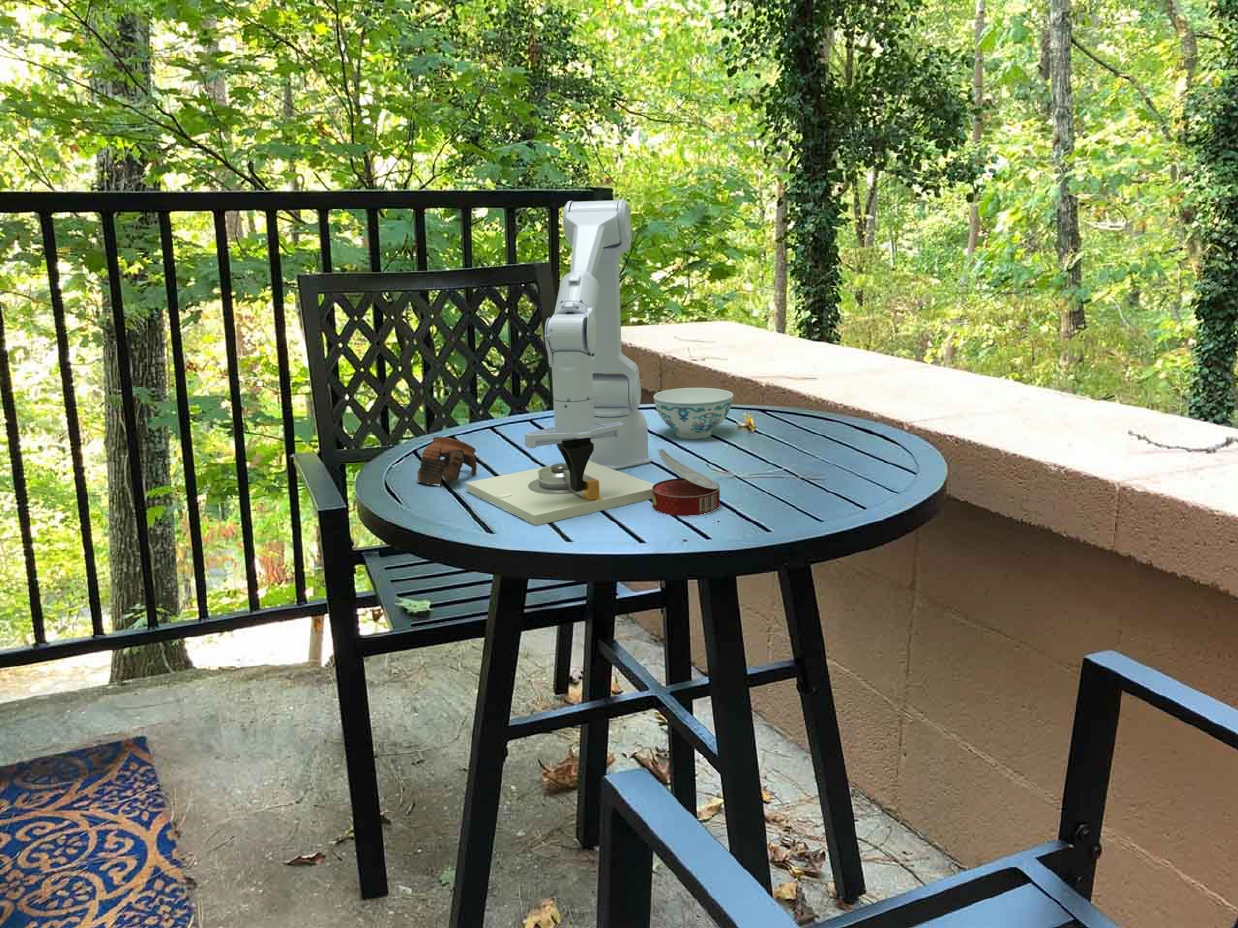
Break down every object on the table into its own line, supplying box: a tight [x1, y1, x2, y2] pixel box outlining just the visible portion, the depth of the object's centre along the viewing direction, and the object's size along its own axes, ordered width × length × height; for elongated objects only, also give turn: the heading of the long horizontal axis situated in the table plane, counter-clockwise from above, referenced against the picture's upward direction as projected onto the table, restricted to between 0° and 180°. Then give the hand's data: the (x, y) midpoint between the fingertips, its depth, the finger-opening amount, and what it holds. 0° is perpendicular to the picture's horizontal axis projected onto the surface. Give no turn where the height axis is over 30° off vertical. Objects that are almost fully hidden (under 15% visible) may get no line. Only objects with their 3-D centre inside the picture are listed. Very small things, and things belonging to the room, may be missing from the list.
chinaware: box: [653, 387, 734, 440], centre depth 187 cm, size 15×15×8 cm
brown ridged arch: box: [417, 436, 478, 485], centre depth 161 cm, size 12×10×8 cm
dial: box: [538, 462, 600, 500], centre depth 148 cm, size 14×7×3 cm, turn 30°
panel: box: [465, 461, 656, 526], centre depth 152 cm, size 22×22×2 cm
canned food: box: [652, 448, 721, 517], centre depth 144 cm, size 11×10×10 cm
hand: (577, 489), depth 144 cm, fingers closed, pressing on dial
